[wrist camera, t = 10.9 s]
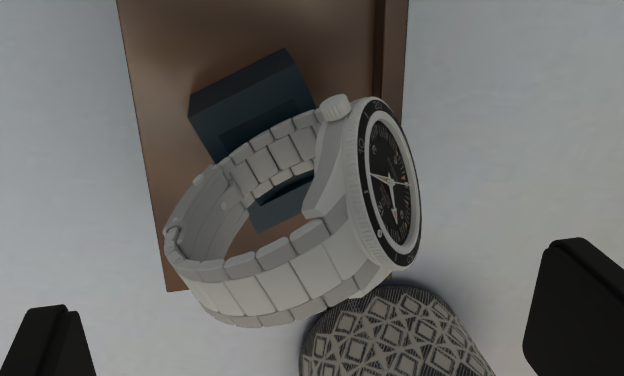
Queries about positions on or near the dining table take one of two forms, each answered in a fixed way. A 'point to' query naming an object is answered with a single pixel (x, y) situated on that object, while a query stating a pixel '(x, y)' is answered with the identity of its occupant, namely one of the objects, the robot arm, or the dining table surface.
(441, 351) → the planter
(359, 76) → the shelf
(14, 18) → the dining table surface
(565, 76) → the dining table surface
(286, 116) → the watch
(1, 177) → the dining table surface
